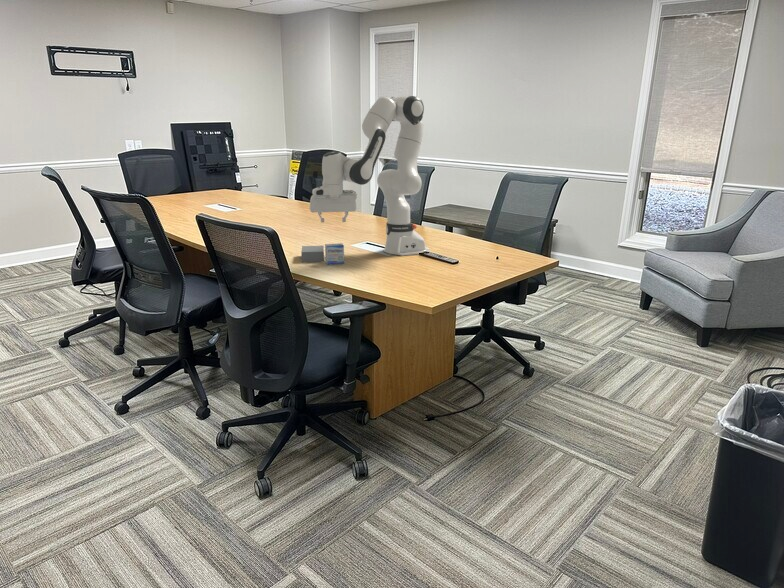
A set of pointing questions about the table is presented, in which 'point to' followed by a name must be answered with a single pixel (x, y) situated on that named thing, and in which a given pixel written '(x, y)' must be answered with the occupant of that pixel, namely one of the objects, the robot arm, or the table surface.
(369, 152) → the robot arm
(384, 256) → the table surface
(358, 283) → the table surface
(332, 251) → the medicine box
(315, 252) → the slate block
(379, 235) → the table surface
